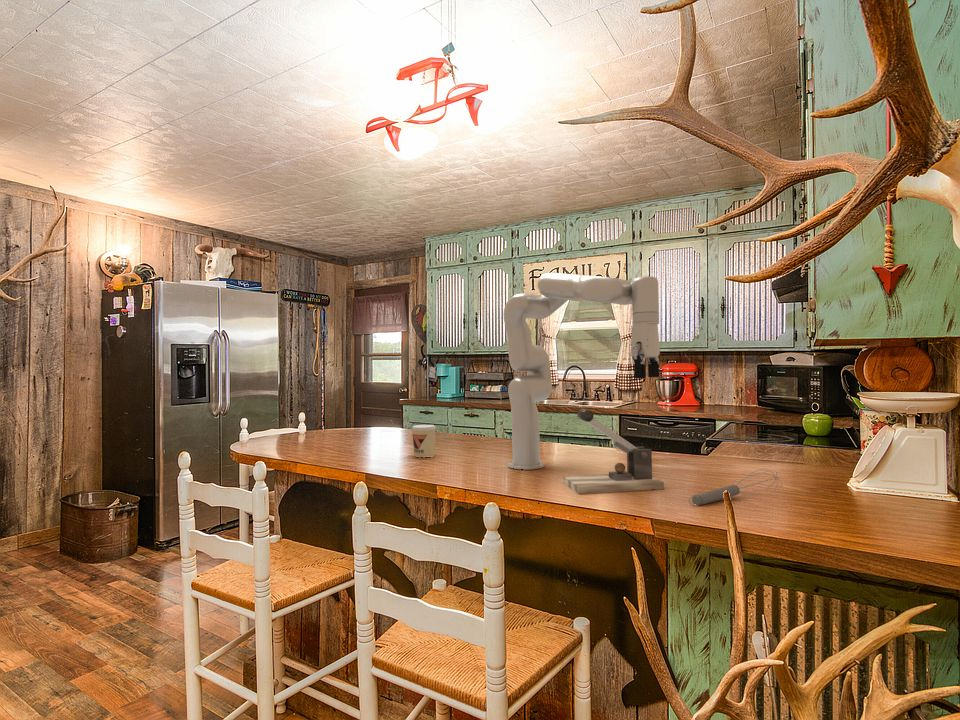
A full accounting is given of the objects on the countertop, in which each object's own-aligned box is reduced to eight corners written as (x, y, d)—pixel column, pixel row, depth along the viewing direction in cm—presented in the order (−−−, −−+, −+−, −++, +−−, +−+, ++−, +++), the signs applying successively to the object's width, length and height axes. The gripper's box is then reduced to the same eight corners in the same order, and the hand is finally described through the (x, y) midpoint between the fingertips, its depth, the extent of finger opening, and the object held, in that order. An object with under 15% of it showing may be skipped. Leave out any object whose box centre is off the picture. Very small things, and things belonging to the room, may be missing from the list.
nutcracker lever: (573, 418, 159) (581, 406, 159) (635, 460, 162) (642, 448, 162) (579, 420, 154) (586, 408, 155) (642, 463, 157) (649, 451, 157)
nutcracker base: (563, 482, 163) (562, 447, 163) (642, 478, 167) (641, 444, 167) (578, 494, 149) (577, 455, 149) (664, 488, 153) (663, 451, 153)
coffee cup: (407, 457, 213) (406, 426, 213) (424, 453, 221) (424, 424, 221) (424, 459, 207) (423, 428, 207) (441, 455, 214) (440, 425, 214)
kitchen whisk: (679, 504, 137) (679, 479, 137) (766, 488, 153) (766, 466, 153) (699, 510, 132) (699, 484, 132) (787, 493, 147) (787, 469, 147)
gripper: (645, 321, 168) (646, 376, 168) (620, 319, 155) (621, 378, 155) (669, 319, 164) (670, 376, 164) (645, 317, 150) (647, 379, 150)
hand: (647, 377), depth 159 cm, fingers open, 9 cm apart
